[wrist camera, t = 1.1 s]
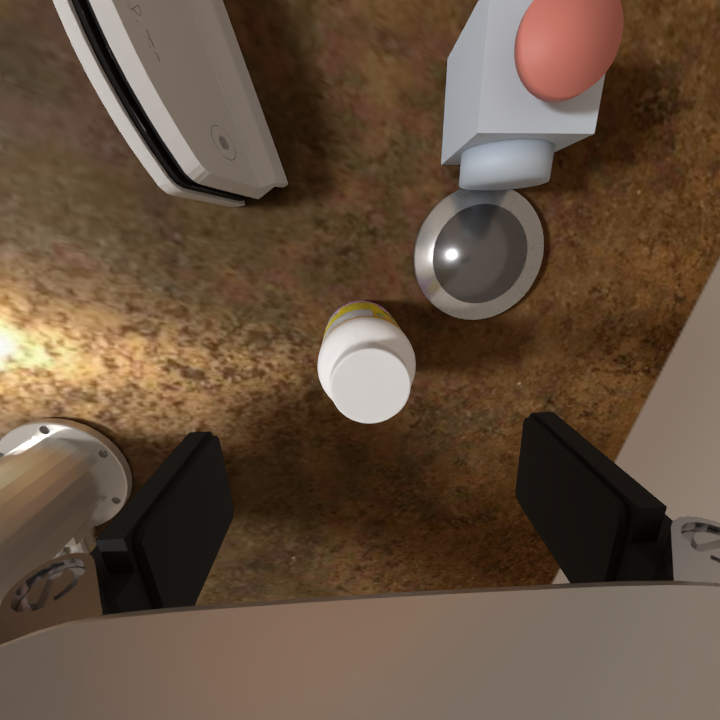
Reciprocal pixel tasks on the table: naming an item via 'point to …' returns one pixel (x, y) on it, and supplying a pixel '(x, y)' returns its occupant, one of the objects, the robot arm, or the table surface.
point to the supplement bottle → (366, 363)
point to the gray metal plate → (478, 252)
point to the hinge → (178, 94)
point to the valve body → (525, 87)
